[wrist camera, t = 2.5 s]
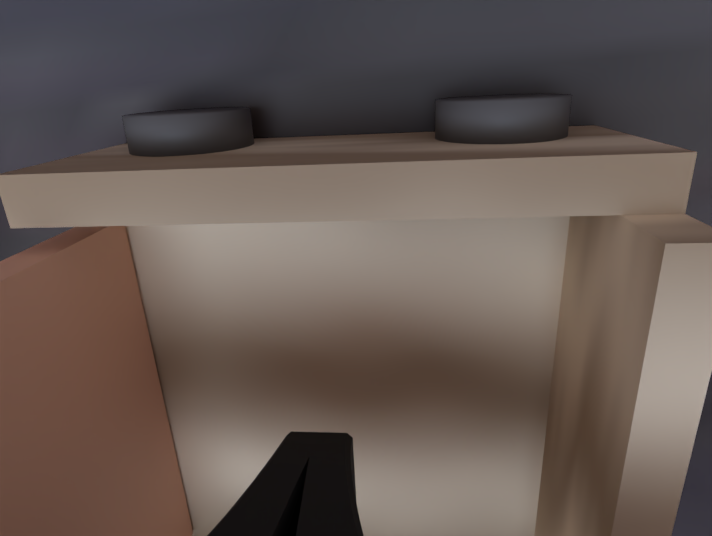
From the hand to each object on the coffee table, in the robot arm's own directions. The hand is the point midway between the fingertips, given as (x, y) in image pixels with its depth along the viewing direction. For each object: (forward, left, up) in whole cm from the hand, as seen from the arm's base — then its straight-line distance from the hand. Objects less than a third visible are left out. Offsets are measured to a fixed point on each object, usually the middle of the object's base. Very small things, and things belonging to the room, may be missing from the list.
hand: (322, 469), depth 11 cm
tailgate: (0, +6, -3) cm, 6 cm away
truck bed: (0, 0, -5) cm, 5 cm away
